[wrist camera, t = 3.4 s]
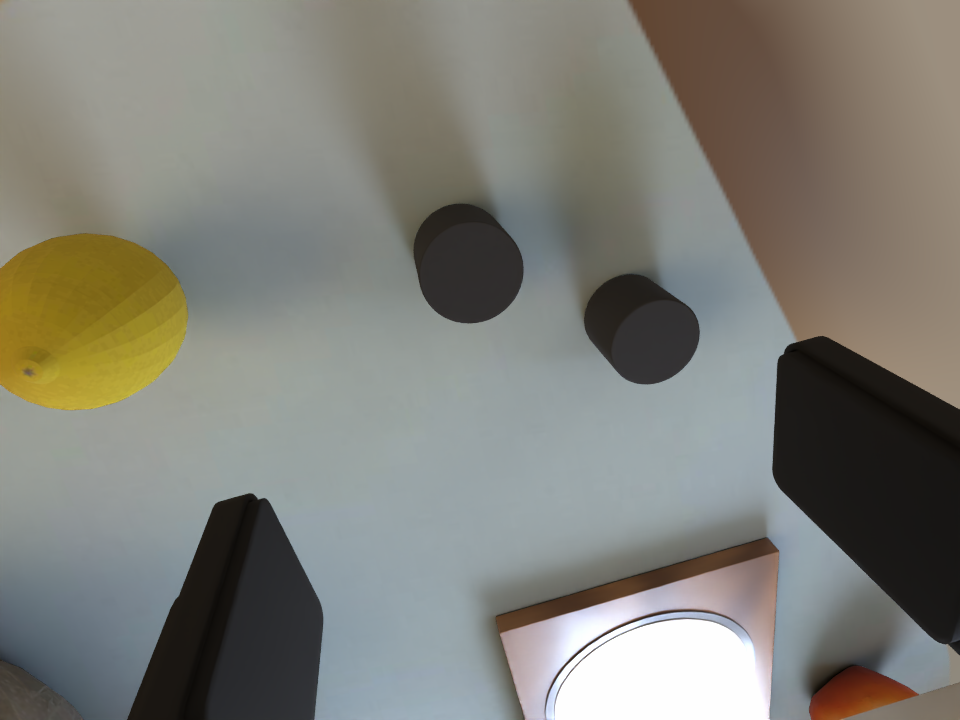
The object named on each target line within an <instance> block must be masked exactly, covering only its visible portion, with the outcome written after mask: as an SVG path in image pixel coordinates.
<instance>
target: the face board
mask: <svg viewBox="0 0 960 720" xmlns="http://www.w3.org/2000/svg"><path fill="white" fill-rule="evenodd" d="M778 564H779V550H778V549H777V548H776V547H775V546H774V545H773V543H772V542H771V541H770V540H769V539H768V538H765V539H761V540H758V541H754V542H751V543H748V544H744V545H741V546H737V547H734V548H730V549H727V550H723V551H720V552H717V553H713V554H710V555H706V556H703V557H699V558H696V559H693V560H689V561H686V562H682V563H679V564H675V565H672V566H668V567H665V568H662V569H658V570H655V571H651V572H648V573H644V574H641V575H638V576H634V577H631V578H627V579H624V580H620V581H617V582H614V583H610V584H607V585H603V586H600V587H596V588H593V589H589V590H586V591H583V592H579V593H576V594H572V595H569V596H565V597H562V598H559V599H555V600H552V601H548V602H545V603H541V604H538V605H534V606H531V607H528V608H524V609H521V610H517V611H514V612H510V613H507V614H504V615H500V616H497V617H496V621H497V626H498V630H499V634H500V638H501V641H502V644H503V648H504V651H505V654H506V658H507V661H508V665H509V668H510V671H511V675H512V678H513V681H514V685H515V688H516V692H517V695H518V698H519V702H520V705H521V708H522V712H523V715H524V719H525V720H769V714H770V698H771V681H772V664H773V647H774V631H775V614H776V597H777V581H778Z"/></svg>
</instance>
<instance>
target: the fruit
mask: <svg viewBox="0 0 960 720" xmlns="http://www.w3.org/2000/svg"><path fill="white" fill-rule="evenodd" d="M918 695H919V694H917V693H916V692H914V691H913V690H911V689H910V688H908V687H907V686H905V685H903V684H901V683H899V682H897V681H895V680H893V679H891V678H889V677H886V676H884V675H882V674H879V673H877V672H875V671H872V670H870V669H868V668H865V667H862V666H857V665H855V666H851V667H849V668H847V669H845V670H844V671H842V672H841V673H839V674H838V675H836V676H835V677H833V678H832V679H831V680H830V681H829V682H828V683H827V684H826V685H825V686H823V687H822V688H821V689H820V690H819V691H818V692H817V693H816V694H815V695H813V697H812V699H811V703H810V706H809V713H810V716H811V720H841V719H844V718H847V717H851V716H854V715H857V714H860V713H863V712H867V711H870V710H873V709H876V708H879V707H882V706H886V705H889V704H892V703H895V702H898V701H902V700H905V699H908V698H911V697H914V696H918Z"/></svg>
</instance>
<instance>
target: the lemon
mask: <svg viewBox="0 0 960 720" xmlns="http://www.w3.org/2000/svg"><path fill="white" fill-rule="evenodd" d="M187 320H188V311H187V304H186V298H185V295H184V292H183V290H182V288H181V285H180V283H179V281H178V279H177V278H176V276H175V275H174V274H173V272H172V271H171V270H170V268H169V267H168V266H167V265H166V264H165V263H164V262H163V261H162V260H160V259H159V258H158V257H157V256H156V255H155V254H153V253H152V252H150V251H148V250H147V249H145V248H143V247H141V246H139V245H138V244H136V243H133V242H130V241H127V240H124V239H121V238H118V237H114V236H109V235H98V234H86V233H85V234H76V235H69V236H61V237H56V238H52V239H49V240H46V241H44V242H42V243H39V244H37V245H35V246H32V247H30V248H28V249H25V250H23V251H22V252H20V253H18V254H17V255H16V256H15V257H13V258H12V259H11V260H10V261H9V262H7V263H6V264H5V265H4V266H3V267H2V268H0V385H2V386H3V387H4V388H6V389H7V390H8V391H9V392H11V393H13V394H15V395H17V396H19V397H21V398H23V399H24V400H26V401H28V402H31V403H35V404H38V405H41V406H44V407H47V408H55V409H63V410H81V409H93V408H98V407H101V406H105V405H108V404H112V403H115V402H118V401H121V400H123V399H125V398H127V397H129V396H131V395H132V394H134V393H136V392H137V391H139V390H141V389H143V388H144V387H146V386H147V385H149V384H150V383H152V382H153V381H154V380H155V379H156V378H157V377H158V376H159V375H160V374H161V373H162V372H163V371H164V370H165V369H166V368H167V367H168V366H169V365H170V364H171V362H172V361H173V360H174V358H175V356H176V354H177V352H178V350H179V348H180V346H181V344H182V342H183V340H184V338H185V334H186V327H187Z"/></svg>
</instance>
